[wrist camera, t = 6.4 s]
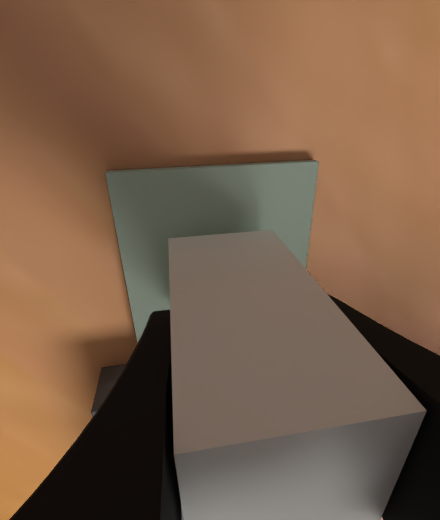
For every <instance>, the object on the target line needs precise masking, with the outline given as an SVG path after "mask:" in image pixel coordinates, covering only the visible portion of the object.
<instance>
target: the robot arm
mask: <svg viewBox="0 0 440 520" xmlns="http://www.w3.org/2000/svg"><path fill="white" fill-rule="evenodd" d="M327 295H328V296H329V297H330V298H331V299H332V300H333V302H334V303H335V304H336V305H337V306H338V307H339V309H340V310H341V311H342V312H343V313H344V314H345V316H346V317H347V318H348V319H349V320H350V321H351V323H352V324H353V325H354V326H355V327H356V328H357V330H358V331H359V332H360V333H361V334H362V336H363V337H364V338H365V339H366V340H367V341H368V343H369V344H370V345H371V346H372V347H373V348H374V350H375V351H376V352H377V353H378V354H379V355H380V357H381V358H382V359H383V360H384V361H385V362H386V364H387V365H388V366H389V367H390V368H391V369H392V371H393V372H394V373H395V374H396V375H397V376H398V378H399V379H400V380H401V381H402V382H403V383H404V385H405V386H406V387H407V388H408V389H409V391H410V392H411V393H412V394H413V395H414V396H415V398H416V399H417V400H418V401H419V402H420V403H421V405H422V406H423V407H424V408H425V409H426V410H427V412H426V414H425V416H424V419H423V421H422V423H421V426H420V428H419V430H418V433H417V435H416V437H415V440H414V442H413V444H412V447H411V449H410V451H409V454H408V456H407V458H406V461H405V463H404V465H403V468H402V470H401V472H400V475H399V477H398V479H397V482H396V484H395V486H394V489H393V491H392V493H391V496H390V498H389V500H388V503H387V505H386V507H385V510H384V512H383V514H382V517H383V520H440V356H439V355H437V354H435V353H433V352H431V351H429V350H428V349H426V348H424V347H422V346H420V345H418V344H416V343H414V342H412V341H410V340H408V339H406V338H404V337H403V336H401V335H399V334H397V333H395V332H393V331H392V330H390V329H388V328H386V327H384V326H383V325H381V324H379V323H377V322H376V321H374V320H372V319H371V318H369V317H367V316H365V315H364V314H362V313H360V312H359V311H357V310H355V309H353V308H352V307H350V306H348V305H347V304H345V303H343V302H341V301H340V300H338V299H336V298H334V297H332V296H330V295H329V294H327ZM9 520H182V512H181V499H180V492H179V485H178V479H177V472H176V466H175V459H174V441H173V402H172V363H171V324H170V310H161V311H153V312H152V313H151V314H150V316H149V319H148V322H147V324H146V327H145V329H144V331H143V333H142V336H141V338H140V340H139V342H138V344H137V346H136V348H135V350H134V351H133V353H132V355H131V357H130V359H129V361H128V363H127V364H126V366H125V368H124V370H123V371H122V373H121V375H120V376H119V378H118V380H117V381H116V383H115V384H114V386H113V388H112V389H111V391H110V392H109V394H108V396H107V397H106V399H105V400H104V402H103V403H102V405H101V406H100V408H99V409H98V411H97V412H96V413H95V415H94V416H93V418H92V419H91V421H90V422H89V423H88V425H87V426H86V427H85V429H84V430H83V432H82V433H81V434H80V436H79V437H78V438H77V440H76V441H75V442H74V443H73V445H72V446H71V447H70V449H69V450H68V451H67V452H66V454H65V455H64V456H63V457H62V459H61V460H60V461H59V462H58V464H57V465H56V466H55V467H54V469H53V470H52V471H51V472H50V474H49V475H48V476H47V477H46V478H45V480H44V481H43V482H42V483H41V484H40V486H39V487H38V488H37V489H36V490H35V491H34V493H33V494H32V495H31V496H30V497H29V498H28V499H27V501H26V502H25V503H24V504H23V505H22V506H21V507H20V508H19V509H18V511H17V512H16V513H15V514H14V515H13V516H12V517H11V518H10V519H9Z"/></svg>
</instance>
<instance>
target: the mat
mask: <svg viewBox="0 0 440 520" xmlns="http://www.w3.org/2000/svg"><path fill="white" fill-rule="evenodd" d="M318 163H319V161H316V160H301V161H282V162H263V163H244V164H225V165H205V166H186V167H167V168H148V169H129V170H110V171H106V172H105V175H106V180H107V186H108V191H109V196H110V201H111V207H112V212H113V217H114V222H115V228H116V233H117V238H118V243H119V249H120V254H121V259H122V264H123V270H124V275H125V280H126V286H127V291H128V296H129V301H130V307H131V312H132V317H133V322H134V328H135V333H136V338H137V343H138V342H139V340H140V338H141V336H142V333H143V331H144V329H145V327H146V324H147V322H148V319H149V316H150V314H151V313H152V312H153V311H161V310H170V285H169V246H168V238H178V237H190V236H202V235H214V234H226V233H239V232H251V231H263V230H273V231H274V232H275V234H276V235H277V236H278V237H279V238H280V240H281V241H282V242H283V243H284V244H285V245H286V247H287V248H288V249H289V250H290V251H291V252H292V254H293V255H294V256H295V257H296V258H297V259H298V261H299V262H300V263H301V264H302V265H303V266H304V268H305V269H306V264H307V255H308V247H309V238H310V230H311V222H312V213H313V205H314V197H315V188H316V180H317V171H318Z"/></svg>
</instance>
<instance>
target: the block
mask: <svg viewBox="0 0 440 520" xmlns="http://www.w3.org/2000/svg"><path fill="white" fill-rule="evenodd" d="M168 246H169V285H170V324H171V363H172V402H173V441H174V459H175V466H176V472H177V479H178V485H179V492H180V499H181V505H182V512H183V518H184V520H380V519H381V517H382V514H383V512H384V510H385V507H386V505H387V503H388V500H389V498H390V496H391V493H392V491H393V489H394V486H395V484H396V482H397V479H398V477H399V475H400V472H401V470H402V468H403V465H404V463H405V461H406V458H407V456H408V454H409V451H410V449H411V447H412V444H413V442H414V440H415V437H416V435H417V433H418V430H419V428H420V426H421V423H422V421H423V419H424V416H425V414H426V412H427V410H426V409H425V408H424V407H423V406H422V405H421V403H420V402H419V401H418V400H417V399H416V398H415V396H414V395H413V394H412V393H411V392H410V391H409V389H408V388H407V387H406V386H405V385H404V383H403V382H402V381H401V380H400V379H399V378H398V376H397V375H396V374H395V373H394V372H393V371H392V369H391V368H390V367H389V366H388V365H387V364H386V362H385V361H384V360H383V359H382V358H381V357H380V355H379V354H378V353H377V352H376V351H375V350H374V348H373V347H372V346H371V345H370V344H369V343H368V341H367V340H366V339H365V338H364V337H363V336H362V334H361V333H360V332H359V331H358V330H357V328H356V327H355V326H354V325H353V324H352V323H351V321H350V320H349V319H348V318H347V317H346V316H345V314H344V313H343V312H342V311H341V310H340V309H339V307H338V306H337V305H336V304H335V303H334V302H333V300H332V299H331V298H330V297H329V296H328V295H327V293H326V292H325V291H324V290H323V289H322V288H321V286H320V285H319V284H318V283H317V282H316V280H315V279H314V278H313V277H312V276H311V275H310V273H309V272H308V271H307V270H306V269H305V268H304V266H303V265H302V264H301V263H300V262H299V261H298V259H297V258H296V257H295V256H294V255H293V254H292V252H291V251H290V250H289V249H288V248H287V247H286V245H285V244H284V243H283V242H282V241H281V240H280V238H279V237H278V236H277V235H276V234H275V232H274V231H273V230H263V231H251V232H239V233H226V234H214V235H202V236H190V237H178V238H168Z"/></svg>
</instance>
